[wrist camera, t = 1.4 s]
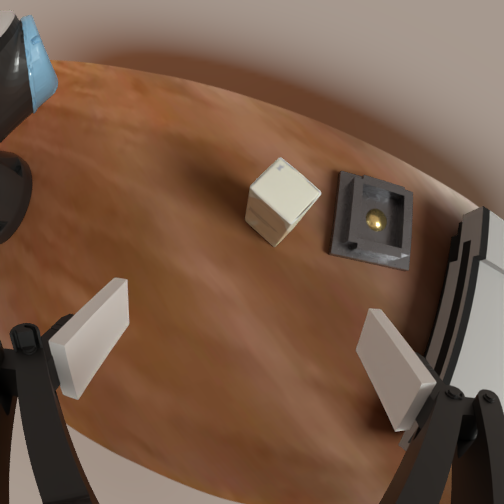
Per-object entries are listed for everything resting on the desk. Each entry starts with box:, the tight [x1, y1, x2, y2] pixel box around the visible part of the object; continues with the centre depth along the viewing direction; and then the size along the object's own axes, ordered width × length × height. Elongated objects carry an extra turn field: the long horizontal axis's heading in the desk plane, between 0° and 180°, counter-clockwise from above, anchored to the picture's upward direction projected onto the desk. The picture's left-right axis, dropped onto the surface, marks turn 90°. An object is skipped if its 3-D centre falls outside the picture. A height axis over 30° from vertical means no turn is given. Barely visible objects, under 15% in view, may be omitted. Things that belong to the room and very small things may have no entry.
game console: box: [399, 206, 504, 451], centre depth 31 cm, size 21×32×8 cm, turn 160°
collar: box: [329, 171, 413, 271], centre depth 36 cm, size 11×11×3 cm
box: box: [245, 157, 321, 247], centre depth 31 cm, size 5×4×11 cm
